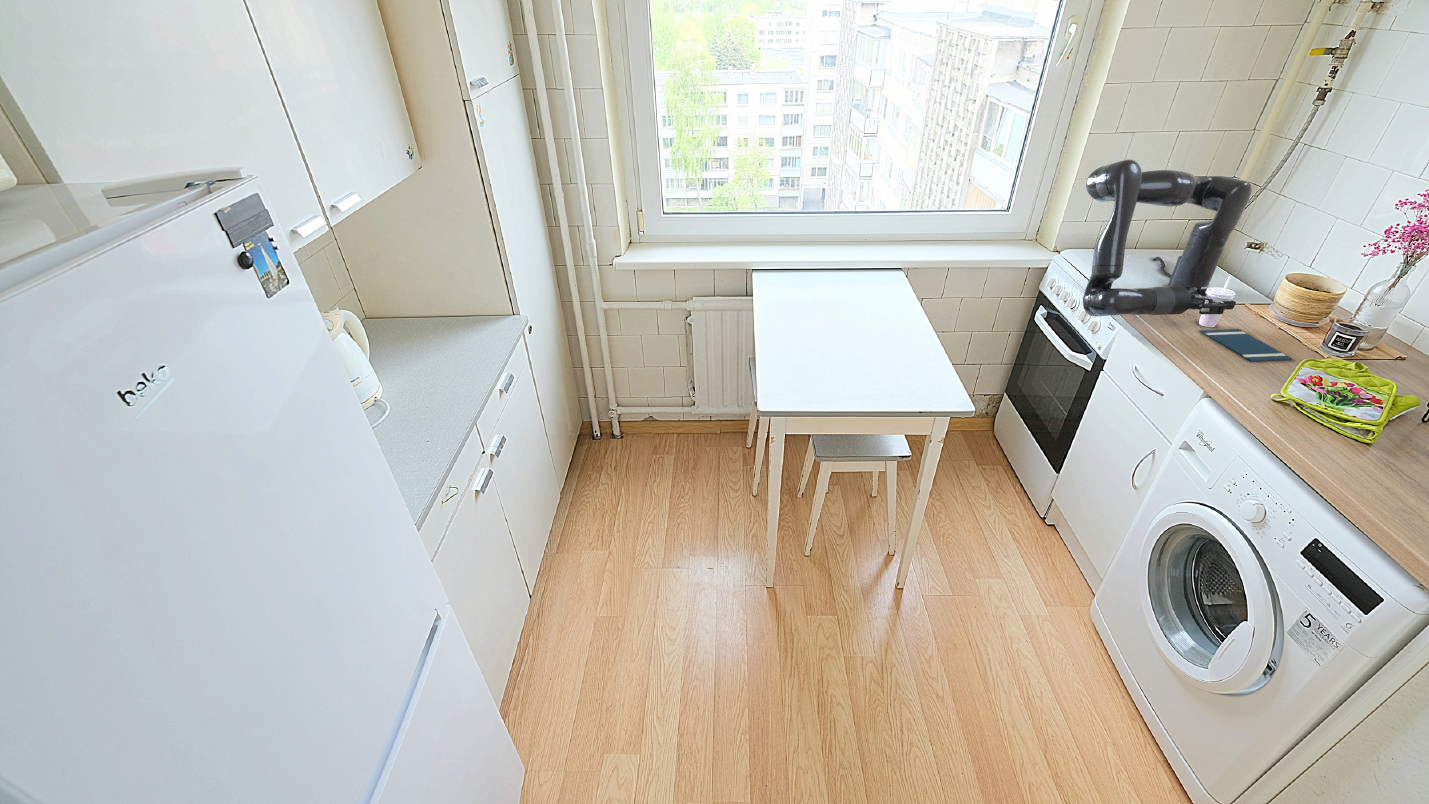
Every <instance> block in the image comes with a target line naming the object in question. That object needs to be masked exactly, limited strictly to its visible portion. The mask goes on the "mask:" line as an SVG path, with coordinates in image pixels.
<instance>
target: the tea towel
mask: <svg viewBox="0 0 1429 804" xmlns="http://www.w3.org/2000/svg"><path fill="white" fill-rule="evenodd" d="M1200 333H1202V334H1203V335H1205V336H1206V337H1208V338H1210V339H1212V340H1214V341H1215V342H1217V343H1219V344H1220V345H1222V346H1224V347H1225V348H1227V349H1229V350H1230V351H1232V352H1234V353H1235V354H1237V355H1239V356H1241V357H1242V358H1244V359H1245V360H1248V361H1249V362H1271V361H1272V362H1273V361H1274V362H1275V361H1292V359H1293V358H1292V357H1291V356H1288V355H1287V354H1285V353H1283V352H1281V351H1279V350H1277V349H1276V348H1273V347H1272V346H1270V345H1268V344H1266V343H1265V342H1263V341H1261V340H1259V339H1257V338H1255V337H1253V336H1252V335H1250V334H1249V333H1247V332H1244V331H1242V330H1241V329H1239V328H1236V329H1235V328H1234V329H1233V328H1232V329H1208V330H1207V329H1206V330H1205V329H1203V330H1200Z"/></svg>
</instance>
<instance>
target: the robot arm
mask: <svg viewBox="0 0 1429 804" xmlns="http://www.w3.org/2000/svg"><path fill="white" fill-rule="evenodd" d="M1085 188H1086V191H1087V194H1088V195H1089V196H1090V197H1091V198H1092V199H1093V200H1095V201H1097V202H1101V203H1103V202H1105V203H1106V202H1113V203H1114V204H1113V209H1112V211H1111V214H1110V217H1109V219H1108V221H1107V223H1106V224H1105V227H1104V228H1103V230H1102V231H1101V233H1100V235H1099V237H1098V239H1097V240H1096V243H1095V244H1094V248H1093V254H1092V264H1091V274H1090V276H1089V278H1088V280H1087V284H1086V287H1085V289H1084V293H1083V296H1082V306H1083V310H1084V312H1085V313H1086V314H1087V315H1088V316H1089V317H1097V318H1098V317H1111V316H1113V317H1114V316H1124V315H1131V316H1142V315H1143V316H1144V315H1145V316H1146V315H1149V316H1168V315H1169V316H1170V315H1171V316H1172V315H1173V316H1174V315H1181V314H1184V313H1185V312H1186V311H1188V310H1193V311H1195V310H1196V311H1197V310H1198V314H1199V315H1201V314H1222V315H1223V314H1224V313H1225V311H1226V310H1233V309H1234V308H1235V306H1236V304H1237V302H1236V301H1235V300H1231V301H1218V300H1213V298H1211V297H1206V290H1207V288H1209V287H1210V286H1209V285H1210V283H1211V282H1212V280H1213V277H1214V274H1215V272H1216V269H1217V267H1218V264H1219V262H1220V260H1221V258H1222V255H1223V253H1224V250H1225V248H1226V245H1227V243H1228V240H1229V238H1230V237H1231V234H1232V232H1233V231H1234V230H1235V228H1236V227H1237V225H1238V223H1239V221H1240V219H1241V217H1242V215H1243V214H1244V211H1245V210H1246V207H1247V205H1248V203H1249V201H1250V198H1251V196H1252V191H1253V187H1252V183H1250V182H1249V181H1248V180H1247V181H1246V180H1243V179H1240V178H1236V177H1235V178H1234V177H1230V176H1226V175H1225V176H1224V175H1204V176H1200V175H1199V176H1198V175H1194V174H1193V173H1190V172H1186V171H1182V170H1174V169H1157V170H1147V171H1142V168H1141V165H1140V164H1139V163H1138V162H1137V161H1136V160H1134V159H1123V160H1119V161H1116V162H1113V163H1109V164H1105V165H1102V166H1100V167H1097V168H1096V169H1094V170H1093V171H1091V173H1089V175H1088V176H1087V179H1086V182H1085ZM1137 204H1143V205H1144V204H1145V205H1153V206H1159V207H1170V208H1171V207H1179V206H1183V205H1185V204H1190V205H1193V206H1197V207H1200V208H1203V209H1205V210H1209V211H1213V212H1216V213H1215V214H1214V217H1213V218H1212V219H1210V220H1203V221H1198V222H1195V223H1194V224H1193V226H1192V228H1191V230H1190V234H1189V236H1188V239H1187V241H1186V243H1185V246H1184V249H1183V252H1182V253H1181V255H1179V256H1178V258H1177V260H1176V263H1175V265H1174V268H1173V270H1172V273H1171V274H1170V273H1169V272H1167V271H1166V270H1165V268H1166V263H1165V261H1164V260H1163V258H1161V257H1160V256H1155V257H1154V258H1152V260H1153V261H1157V260H1158V261H1159V263H1160V265H1161V267H1160V271H1161V273H1162V274H1164V275H1165V276H1166V277H1168V278H1169V281H1168V284H1167V285H1166V286H1165V285H1164V286H1152V287H1139V288H1138V287H1136V288H1123V287H1122V288H1119V287H1117V288H1116V287H1115V288H1112V286H1113V284H1114V282H1115V281H1116V280H1118V279H1120V278H1121V277H1122V275H1123V271H1124V261H1125V251H1126V245H1127V238H1128V234H1129V230H1130V227H1131V224H1132V219H1133V216H1134V213H1135V210H1136V205H1137ZM1205 300H1208V303H1206V304H1204V303H1205ZM1212 303H1216V304H1212ZM1224 310H1225V311H1224ZM1223 312H1224V313H1223Z"/></svg>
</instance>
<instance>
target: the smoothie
mask: <svg viewBox="0 0 1429 804" xmlns="http://www.w3.org/2000/svg"><path fill="white" fill-rule="evenodd" d="M1232 276H1233V275H1231V274H1229V275H1228V278H1227V279H1226V282H1225V284H1224V286H1223V287H1221V286H1209V287H1208V288H1207V290H1206V297H1211V298H1213V300H1218V301H1233V299H1234V298H1236V297H1235V296H1236V292H1235V291H1233V290H1232V289H1229V288H1228V286H1229V283H1230V281H1231V279H1232ZM1206 303H1208V300H1205V303H1204V304H1206ZM1212 304H1216V303H1212ZM1225 311H1226V310H1224V312H1223V314H1224V313H1225ZM1223 314H1200V317H1199V320H1198V324H1199V325H1200V326H1202V327H1205V328H1215V327H1216V326H1217V324H1218V322H1219V320H1220V319H1221V317H1223Z"/></svg>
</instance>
